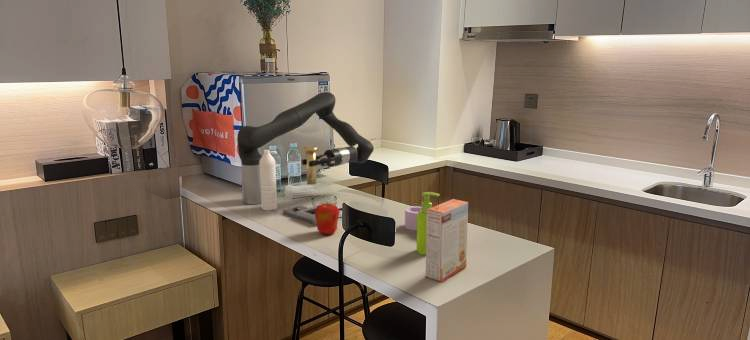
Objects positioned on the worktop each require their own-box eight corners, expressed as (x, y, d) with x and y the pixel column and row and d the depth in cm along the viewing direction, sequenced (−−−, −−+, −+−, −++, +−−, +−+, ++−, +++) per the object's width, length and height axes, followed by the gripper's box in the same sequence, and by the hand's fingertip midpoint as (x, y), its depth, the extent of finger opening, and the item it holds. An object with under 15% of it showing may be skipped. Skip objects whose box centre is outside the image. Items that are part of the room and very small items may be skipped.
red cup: (310, 234, 181) (310, 203, 179) (323, 227, 189) (323, 197, 186) (331, 238, 177) (330, 206, 175) (343, 231, 185) (343, 200, 182)
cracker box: (450, 262, 157) (452, 197, 153) (466, 267, 153) (469, 201, 149) (423, 276, 147) (425, 208, 142) (441, 283, 143) (443, 212, 138)
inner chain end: (283, 213, 205) (283, 208, 204) (300, 208, 211) (300, 204, 211) (313, 224, 192) (313, 219, 192) (331, 218, 199) (330, 213, 198)
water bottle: (258, 208, 212) (255, 150, 206) (270, 205, 216) (267, 147, 211) (272, 212, 206) (269, 152, 201) (284, 208, 211) (281, 150, 206)
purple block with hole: (398, 229, 187) (398, 212, 185) (416, 221, 197) (416, 204, 195) (446, 241, 175) (447, 222, 174) (462, 231, 185) (463, 213, 184)
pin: (302, 183, 210) (301, 147, 206) (312, 180, 214) (311, 145, 210) (310, 185, 206) (309, 149, 203) (321, 183, 210) (320, 147, 206)
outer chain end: (297, 218, 199) (296, 209, 198) (314, 213, 205) (314, 204, 204) (318, 226, 190) (318, 217, 189) (336, 220, 197) (336, 211, 196)
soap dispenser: (436, 255, 163) (438, 195, 158) (415, 253, 164) (416, 194, 159) (438, 248, 168) (440, 191, 164) (417, 247, 169) (418, 189, 165)
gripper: (325, 146, 222) (294, 151, 210) (348, 150, 212) (316, 156, 200) (326, 163, 224) (295, 169, 211) (348, 167, 214) (317, 175, 202)
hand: (306, 163), depth 206 cm, fingers closed on pin, 4 cm apart
